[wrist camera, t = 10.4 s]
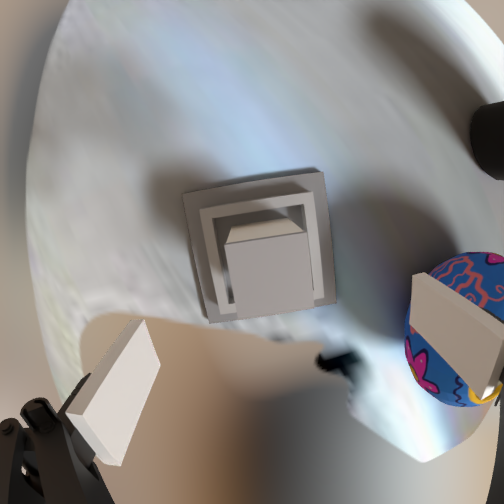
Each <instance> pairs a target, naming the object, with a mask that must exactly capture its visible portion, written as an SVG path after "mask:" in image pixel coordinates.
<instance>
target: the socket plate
mask: <svg viewBox="0 0 504 504" xmlns="http://www.w3.org/2000/svg"><path fill="white" fill-rule="evenodd" d="M182 198H183V203H184V209H185V214H186V219H187V224H188V230H189V235H190V240H191V245H192V249H193V254H194V259H195V264H196V268H197V273H198V277H199V282H200V286H201V290H202V295H203V299H204V303H205V307H206V312H207V316H208V320H209V324H211V323H219V322H227V321H234V320H238V316H237V311H236V306H235V301H234V295H233V290H232V285H231V279H230V274H229V269H228V263H227V258H226V252H225V247H224V244H225V243H226V242H227V239H228V236H229V233H230V230H231V227H232V226H237V225H243V224H249V223H256V222H262V221H269V220H276V219H282V218H289V219H290V220H291V221H292V222H294V223H295V224H296V225H297V226H298V227H300V228H301V229H302V230H303V231H306V232H307V235H308V244H309V254H310V263H311V274H312V284H313V296H314V307H319V306H324V305H329V304H334V303H336V286H335V272H334V260H333V248H332V238H331V228H330V219H329V211H328V202H327V195H326V187H325V180H324V173H323V172H316V173H307V174H299V175H292V176H284V177H277V178H270V179H263V180H257V181H251V182H244V183H238V184H232V185H227V186H221V187H215V188H210V189H205V190H199V191H194V192H189V193H184V194H182Z"/></svg>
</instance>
